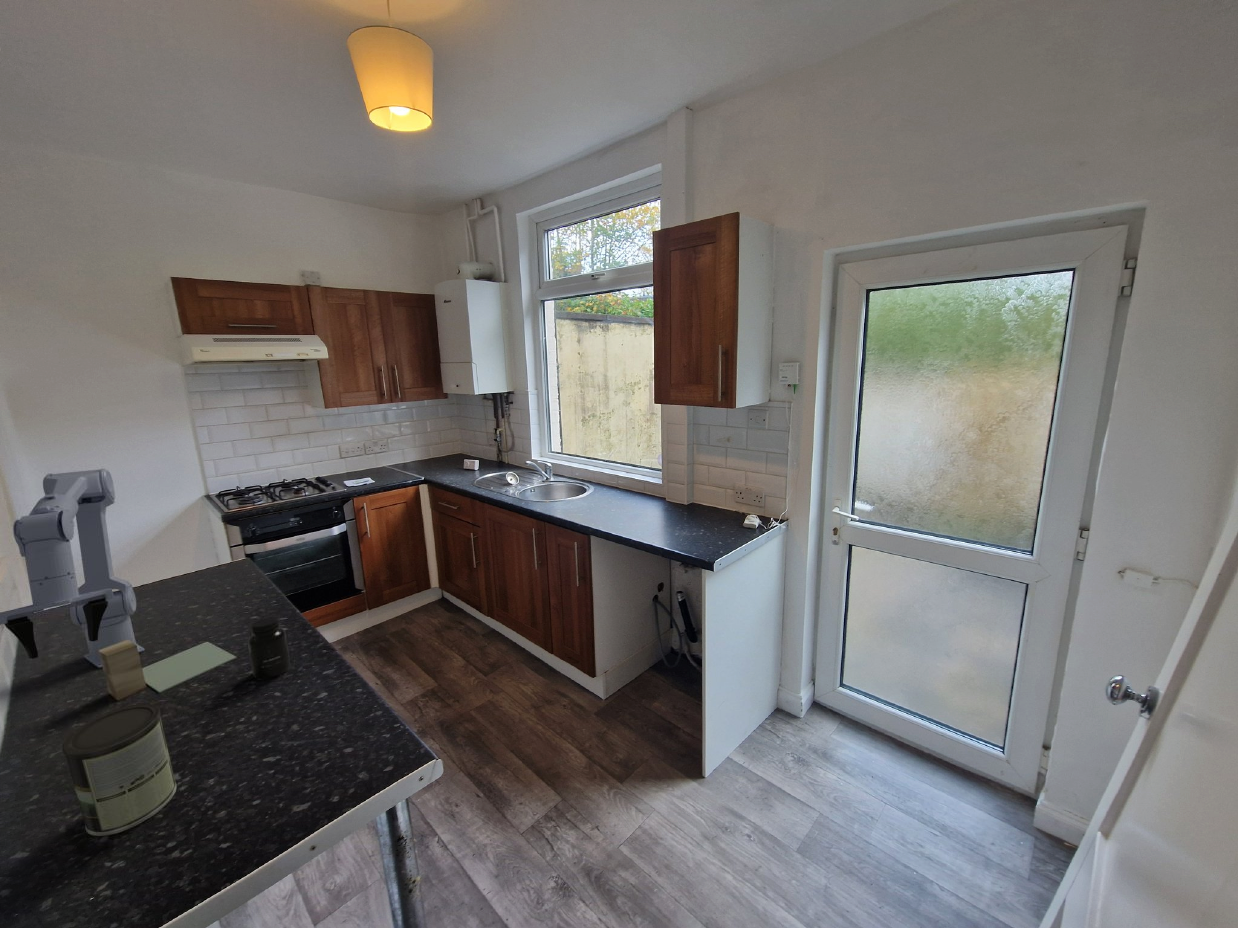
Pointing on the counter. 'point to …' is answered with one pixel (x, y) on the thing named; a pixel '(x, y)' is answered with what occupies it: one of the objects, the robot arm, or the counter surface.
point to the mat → (185, 666)
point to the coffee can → (120, 768)
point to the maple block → (122, 669)
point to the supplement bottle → (268, 649)
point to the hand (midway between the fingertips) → (64, 648)
